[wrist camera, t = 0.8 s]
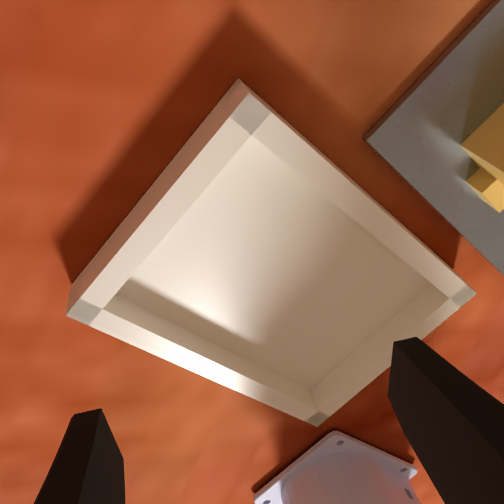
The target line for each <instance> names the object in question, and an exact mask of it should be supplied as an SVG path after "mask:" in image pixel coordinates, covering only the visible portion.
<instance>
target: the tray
mask: <svg viewBox="0 0 504 504" xmlns="http://www.w3.org/2000/svg"><path fill="white" fill-rule="evenodd" d="M476 294H477V293H476V292H475V291H474V290H473V289H472V288H471V287H470V286H469V285H468V284H467V283H466V282H465V281H464V280H463V279H462V278H461V277H460V276H459V275H458V274H457V273H456V272H455V271H454V270H453V269H452V268H451V267H450V266H449V265H448V264H447V263H446V262H444V261H443V260H442V259H441V258H440V257H439V256H438V255H437V254H435V253H434V252H433V251H432V250H431V249H430V248H429V247H428V246H426V245H425V244H424V243H423V242H422V241H421V240H420V239H419V238H417V237H416V236H415V235H414V234H413V233H412V232H411V231H410V230H408V229H407V228H406V227H405V226H404V225H403V224H402V223H401V222H399V221H398V220H397V219H396V218H395V217H394V216H393V215H392V214H391V213H389V212H388V211H387V210H386V209H385V208H384V207H383V206H382V205H380V204H379V203H378V202H377V201H376V200H375V199H374V198H373V197H371V196H370V195H369V194H368V193H367V192H366V191H365V190H364V189H362V188H361V187H360V186H359V185H358V184H357V183H356V182H355V181H353V180H352V179H351V178H350V177H349V176H348V175H347V174H346V173H344V172H343V171H342V170H341V169H340V168H339V167H338V166H337V165H336V164H334V163H333V162H332V161H331V160H330V159H329V158H328V157H327V156H325V155H324V154H323V153H322V152H321V151H320V150H319V149H318V148H316V147H315V146H314V145H313V144H312V143H311V142H310V141H309V140H307V139H306V138H305V137H304V136H303V135H302V134H301V133H300V132H298V131H297V130H296V129H295V128H294V127H293V126H292V125H291V124H289V123H288V122H287V121H286V120H285V119H284V118H283V117H282V116H280V115H279V114H278V113H277V112H276V111H275V110H274V109H273V108H272V107H270V106H269V105H268V104H267V103H266V102H265V101H264V100H263V99H261V98H260V97H259V96H258V95H257V94H256V93H255V92H254V91H252V90H251V89H250V88H249V87H248V86H247V85H246V84H245V83H243V82H242V81H241V80H240V79H239V78H238V79H237V80H236V81H235V83H234V84H233V85H232V86H231V88H230V89H229V90H228V91H227V93H226V94H225V95H224V96H223V97H222V99H221V100H220V101H219V102H218V104H217V105H216V106H215V107H214V109H213V110H212V111H211V112H210V114H209V115H208V116H207V117H206V119H205V120H204V121H203V122H202V124H201V125H200V126H199V127H198V128H197V130H196V131H195V132H194V133H193V135H192V136H191V137H190V138H189V140H188V141H187V142H186V143H185V145H184V146H183V147H182V148H181V150H180V151H179V152H178V153H177V154H176V156H175V157H174V158H173V159H172V161H171V162H170V163H169V164H168V166H167V167H166V168H165V169H164V171H163V172H162V173H161V174H160V176H159V177H158V178H157V179H156V181H155V182H154V183H153V184H152V185H151V187H150V188H149V189H148V190H147V192H146V193H145V194H144V195H143V197H142V198H141V199H140V200H139V202H138V203H137V204H136V205H135V207H134V208H133V209H132V210H131V212H130V213H129V214H128V215H127V216H126V218H125V219H124V220H123V221H122V223H121V224H120V225H119V226H118V228H117V229H116V230H115V231H114V233H113V234H112V235H111V236H110V238H109V239H108V240H107V241H106V242H105V244H104V245H103V246H102V247H101V249H100V250H99V251H98V252H97V254H96V255H95V256H94V257H93V259H92V260H91V261H90V262H89V264H88V265H87V266H86V267H85V269H84V270H83V271H82V272H81V273H80V275H79V276H78V277H77V278H76V280H75V281H74V282H73V283H72V285H71V289H70V294H69V300H68V305H67V310H66V316H68V317H70V318H73V319H75V320H77V321H79V322H82V323H84V324H86V325H88V326H91V327H93V328H95V329H97V330H100V331H102V332H104V333H106V334H109V335H111V336H113V337H115V338H118V339H120V340H122V341H124V342H127V343H129V344H131V345H133V346H136V347H138V348H140V349H142V350H145V351H147V352H149V353H151V354H154V355H156V356H158V357H160V358H163V359H165V360H167V361H169V362H172V363H174V364H176V365H178V366H181V367H183V368H185V369H188V370H190V371H192V372H194V373H197V374H199V375H201V376H203V377H206V378H208V379H210V380H212V381H215V382H217V383H219V384H221V385H224V386H226V387H228V388H230V389H233V390H235V391H237V392H239V393H242V394H244V395H246V396H248V397H251V398H253V399H255V400H257V401H260V402H262V403H264V404H266V405H269V406H271V407H273V408H275V409H278V410H280V411H282V412H284V413H287V414H289V415H291V416H293V417H296V418H298V419H300V420H302V421H305V422H307V423H309V424H311V425H314V426H316V427H318V426H319V425H320V424H321V423H323V422H324V421H325V420H326V419H327V418H329V417H330V416H331V415H332V414H333V413H335V412H336V411H337V410H338V409H339V408H341V407H342V406H343V405H344V404H345V403H347V402H348V401H349V400H350V399H351V398H353V397H354V396H355V395H356V394H357V393H359V392H360V391H361V390H362V389H363V388H365V387H366V386H367V385H368V384H369V383H370V382H372V381H373V380H374V379H375V378H376V377H378V376H379V375H380V374H381V373H382V372H384V371H385V370H386V369H387V368H388V367H390V366H391V359H392V350H393V342H395V341H399V340H404V339H408V338H412V337H417V338H419V339H420V340H422V339H423V338H424V337H426V336H427V335H428V334H429V333H430V332H431V331H433V330H434V329H435V328H436V327H437V326H439V325H440V324H441V323H442V322H443V321H445V320H446V319H447V318H448V317H449V316H451V315H452V314H453V313H454V312H455V311H457V310H458V309H459V308H460V307H461V306H463V305H464V304H465V303H466V302H467V301H469V300H470V299H471V298H472V297H473V296H475V295H476Z"/></svg>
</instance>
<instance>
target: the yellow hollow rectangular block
mask: <svg viewBox="0 0 504 504" xmlns="http://www.w3.org/2000/svg"><path fill="white" fill-rule="evenodd" d="M461 146H462V148H463V149H464V150H465V151H466V152H467V153H468V155H469V156H470V157H471V158H472V159H473V160H474V162H475V163H476V164H477V165H478V166H479V167H480V168H479V169H478V170H477V171H476V172H475V173H474V174H473V175H472V176H471V177H470V178H469V179H468V180H466V182H467V184H468V185H469V186H470V187H471V188H472V189H473V190H474V191H475V192H476V193H477V195H478V196H479V197H480V198H481V199H482V200H483V201H484V202H486V203H487V204H488V205H490V206H491V207H492V208H494V209H495V210H496V211H498V212H499V213H500V212H501V211H502V210H503V209H504V103H503V104H502V105H501V106H500V107H499V108H498V109H497V110H496V111H495V112H494V113H493V114H492V115H491V116H490V117H489V118H488V119H487V120H486V121H485V122H484V123H483V124H482V125H481V126H480V127H478V128H477V129H476V130H475V131H474V132H473V133H472V134H471V135H470V136H469V137H468V138H467V139H466V140H465V141H464V142H463V143H462V144H461Z"/></svg>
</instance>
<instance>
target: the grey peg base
mask: <svg viewBox="0 0 504 504" xmlns="http://www.w3.org/2000/svg"><path fill="white" fill-rule="evenodd" d="M503 103H504V0H493V1H492V2H491V3H490V4H489V5H488V6H487V7H486V8H485V9H484V10H483V11H482V12H481V13H480V14H479V15H478V16H477V18H476V19H475V20H474V21H473V22H472V23H471V24H470V25H469V26H468V27H467V28H466V29H465V30H464V31H463V32H462V33H461V34H460V35H459V37H458V38H457V39H456V40H455V41H454V42H453V43H452V44H451V45H450V46H449V47H448V48H447V49H446V50H445V51H444V52H443V53H442V54H441V55H440V57H439V58H438V59H437V60H436V61H435V62H434V63H433V64H432V65H431V66H430V67H429V68H428V69H427V70H426V71H425V72H424V73H423V74H422V76H421V77H420V78H419V79H418V80H417V81H416V82H415V83H414V84H413V85H412V86H411V87H410V88H409V89H408V90H407V91H406V92H405V93H404V94H403V96H402V97H401V98H400V99H399V100H398V101H397V102H396V103H395V104H394V105H393V106H392V107H391V108H390V109H389V110H388V111H387V112H386V113H385V115H384V116H383V117H382V118H381V119H380V120H379V121H378V122H377V123H376V124H375V125H374V126H373V127H372V128H371V129H370V130H369V131H368V132H367V133H366V135H365V136H364V137H363V139H364V140H366V141H367V142H368V143H369V144H370V145H371V146H372V147H373V148H374V149H375V150H376V151H377V152H378V153H379V154H380V155H381V156H382V157H383V158H384V159H385V160H386V161H387V162H388V163H389V164H390V165H391V166H392V167H393V168H394V169H395V170H396V171H397V172H398V173H399V174H400V175H401V176H402V177H403V178H404V179H405V180H406V181H407V182H408V183H409V184H410V185H411V186H413V187H414V188H415V189H416V190H417V191H418V192H419V193H420V194H421V195H422V196H423V197H424V198H425V199H426V200H427V201H428V202H429V203H430V204H431V205H432V206H433V207H434V208H435V209H436V210H437V211H438V212H439V213H440V214H441V215H442V216H443V217H444V218H445V219H446V220H447V221H448V222H449V223H450V224H451V225H452V226H453V227H454V228H455V229H456V230H457V231H458V232H459V233H461V234H462V235H463V236H464V237H465V238H466V239H467V240H468V241H469V242H470V243H471V244H472V245H473V246H474V247H475V248H476V249H477V250H478V251H479V252H480V253H481V254H482V255H483V256H484V257H485V258H486V259H487V260H488V261H489V262H490V263H491V264H492V265H493V266H494V267H495V268H496V269H497V270H498V271H499V272H500V273H501V274H503V275H504V209H503V210H502V211H501V212H500V213H499V212H498V211H496V210H495V209H494V208H492V207H491V206H490V205H488V204H487V203H486V202H484V201H483V200H482V199H481V198H480V197H479V196H478V195H477V193H476V192H475V191H474V190H473V189H472V188H471V187H470V186H469V185H468V184H467V182H466V180H468V179H469V178H470V177H471V176H472V175H473V174H474V173H475V172H476V171H477V170H478V169H479V168H480V167H479V166H478V165H477V164H476V163H475V162H474V160H473V159H472V158H471V157H470V156H469V155H468V153H467V152H466V151H465V150H464V149H463V148H462V146H461V144H462V143H463V142H464V141H465V140H466V139H467V138H468V137H469V136H470V135H471V134H472V133H473V132H474V131H475V130H476V129H477V128H478V127H480V126H481V125H482V124H483V123H484V122H485V121H486V120H487V119H488V118H489V117H490V116H491V115H492V114H493V113H494V112H495V111H496V110H497V109H498V108H499V107H500V106H501V105H502V104H503Z"/></svg>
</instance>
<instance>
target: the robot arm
mask: <svg viewBox="0 0 504 504" xmlns="http://www.w3.org/2000/svg"><path fill="white" fill-rule="evenodd" d="M388 397H389V399H390V402H391V404H392V406H393V409H394V411H395V414H396V416H397V418H398V420H399V423H400V425H401V427H402V429H403V431H404V434H405V435H406V437H407V439H408V441H409V443H410V444H411V446H412V448H413V450H414V451H415V453H416V455H417V456H418V458H419V460H420V462H421V463H422V465H423V467H424V469H425V470H426V472H427V474H428V475H429V477H430V479H431V481H432V482H433V484H434V486H435V487H436V489H437V491H438V493H439V494H440V496H441V498H442V499H443V501H444V503H445V504H504V404H502V403H501V402H500V401H498V400H497V399H496V398H494V397H493V396H492V395H490V394H489V393H488V392H486V391H485V390H484V389H482V388H481V387H480V386H478V385H477V384H476V383H474V382H473V381H472V380H470V379H469V378H468V377H467V376H465V375H464V374H463V373H461V372H460V371H459V370H458V369H456V368H455V367H454V366H453V365H451V364H450V363H449V362H448V361H446V360H445V359H444V358H443V357H441V356H440V355H439V354H438V353H436V352H435V351H434V350H433V349H431V348H430V347H429V346H428V345H427V344H425V343H424V342H423V341H421V340H420V339H419V338H417V337H412V338H408V339H404V340H399V341H395V342H393V350H392V359H391V369H390V379H389V388H388ZM416 473H417V469H416V467H415V466H414V465H412V464H410V463H408V462H406V461H403V460H401V459H399V458H397V457H395V456H392V455H390V454H388V453H386V452H384V451H381V450H379V449H377V448H375V447H373V446H370V445H368V444H366V443H364V442H361V441H359V440H357V439H355V438H353V437H350V436H348V435H346V434H344V433H342V432H339V431H332V432H330V433H328V434H327V435H326V436H325V437H323V438H322V439H321V440H320V441H319V442H317V443H316V444H315V445H314V446H313V447H311V448H310V449H309V450H308V451H306V452H305V453H304V454H303V455H302V456H300V457H299V458H298V459H297V460H296V461H294V462H293V463H292V464H291V465H289V466H288V467H287V468H286V469H285V470H283V471H282V472H281V473H280V474H278V475H277V476H276V477H275V478H274V479H272V480H271V481H270V482H269V483H268V484H266V485H265V486H264V487H263V488H261V489H260V490H259V491H258V492H257V493H255V494H254V496H253V500H254V503H255V504H421V503H420V501H419V499H418V497H417V495H416V493H415V491H414V489H413V487H412V485H411V483H410V481H409V479H410V478H412V477H413V476H414V475H416ZM34 504H125V481H124V461H123V457H122V455H121V452H120V450H119V448H118V446H117V443H116V441H115V439H114V436H113V434H112V432H111V430H110V427H109V425H108V423H107V420H106V418H105V416H104V414H103V411H102V409H101V408H100V409H96V410H92V411H87V412H83V413H78V414H74V416H73V417H72V418H71V420H70V423H69V425H68V428H67V430H66V433H65V435H64V438H63V440H62V443H61V445H60V447H59V450H58V452H57V454H56V457H55V459H54V461H53V463H52V466H51V468H50V470H49V472H48V475H47V477H46V479H45V481H44V483H43V485H42V488H41V490H40V492H39V494H38V496H37V498H36V500H35V502H34Z"/></svg>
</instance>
